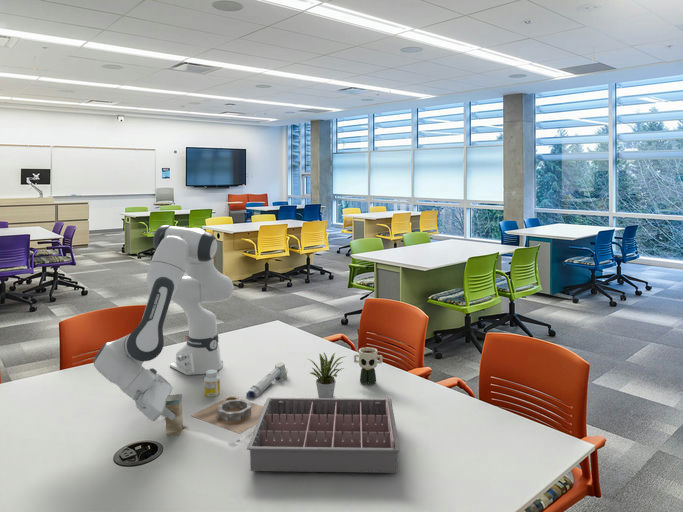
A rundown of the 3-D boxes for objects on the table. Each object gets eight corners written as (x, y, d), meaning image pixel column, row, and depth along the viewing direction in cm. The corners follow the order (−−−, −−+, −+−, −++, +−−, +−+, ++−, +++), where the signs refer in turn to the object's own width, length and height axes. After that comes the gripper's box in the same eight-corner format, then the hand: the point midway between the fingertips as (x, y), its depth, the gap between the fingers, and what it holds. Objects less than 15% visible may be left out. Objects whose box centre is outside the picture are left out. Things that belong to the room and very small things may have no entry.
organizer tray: (268, 420, 164) (267, 391, 163) (390, 422, 163) (391, 392, 162) (247, 477, 133) (246, 441, 131) (399, 479, 132) (400, 443, 130)
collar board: (190, 419, 165) (190, 408, 164) (230, 399, 180) (230, 389, 179) (240, 437, 153) (239, 426, 153) (278, 414, 168) (278, 403, 168)
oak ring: (220, 403, 174) (220, 400, 174) (231, 397, 178) (231, 395, 178) (231, 406, 171) (231, 404, 171) (242, 401, 175) (242, 398, 175)
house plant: (357, 397, 181) (357, 353, 179) (330, 410, 171) (329, 364, 169) (328, 386, 191) (328, 344, 188) (301, 397, 181) (301, 354, 178)
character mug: (353, 385, 191) (353, 352, 189) (354, 378, 198) (354, 346, 196) (381, 387, 190) (382, 353, 188) (382, 379, 197) (382, 347, 195)
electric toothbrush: (243, 389, 179) (277, 357, 201) (245, 406, 181) (278, 372, 203) (256, 391, 177) (289, 359, 199) (258, 408, 179) (290, 374, 201)
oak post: (165, 435, 155) (163, 401, 153) (168, 428, 159) (166, 395, 157) (181, 434, 155) (179, 400, 154) (183, 427, 160) (181, 394, 158)
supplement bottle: (210, 401, 178) (209, 375, 177) (201, 397, 182) (200, 371, 180) (223, 396, 182) (222, 371, 181) (214, 392, 186) (213, 367, 184)
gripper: (140, 391, 143) (177, 421, 146) (154, 365, 163) (187, 392, 166) (124, 407, 143) (162, 437, 146) (141, 379, 163) (174, 406, 166)
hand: (175, 413), depth 156 cm, fingers closed on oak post, 4 cm apart
